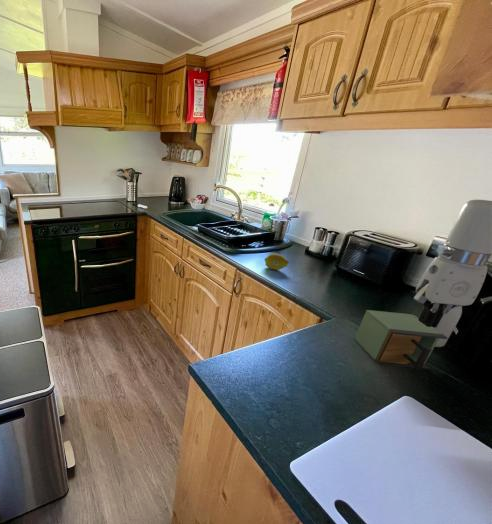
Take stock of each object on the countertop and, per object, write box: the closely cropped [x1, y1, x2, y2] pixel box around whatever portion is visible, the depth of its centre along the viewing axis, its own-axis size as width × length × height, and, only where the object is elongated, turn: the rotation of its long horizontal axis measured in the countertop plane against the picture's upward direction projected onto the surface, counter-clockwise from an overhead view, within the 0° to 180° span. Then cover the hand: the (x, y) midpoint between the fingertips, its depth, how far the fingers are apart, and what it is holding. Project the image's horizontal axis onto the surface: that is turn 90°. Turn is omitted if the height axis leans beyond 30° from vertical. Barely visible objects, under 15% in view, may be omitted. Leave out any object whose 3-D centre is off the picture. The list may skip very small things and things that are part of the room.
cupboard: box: [354, 309, 447, 370], centre depth 86 cm, size 12×14×11 cm
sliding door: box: [380, 333, 432, 372], centre depth 78 cm, size 6×7×10 cm
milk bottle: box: [431, 302, 463, 348], centre depth 92 cm, size 8×8×20 cm
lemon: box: [264, 253, 289, 271], centre depth 143 cm, size 11×8×8 cm
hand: (426, 323), depth 72 cm, fingers closed
